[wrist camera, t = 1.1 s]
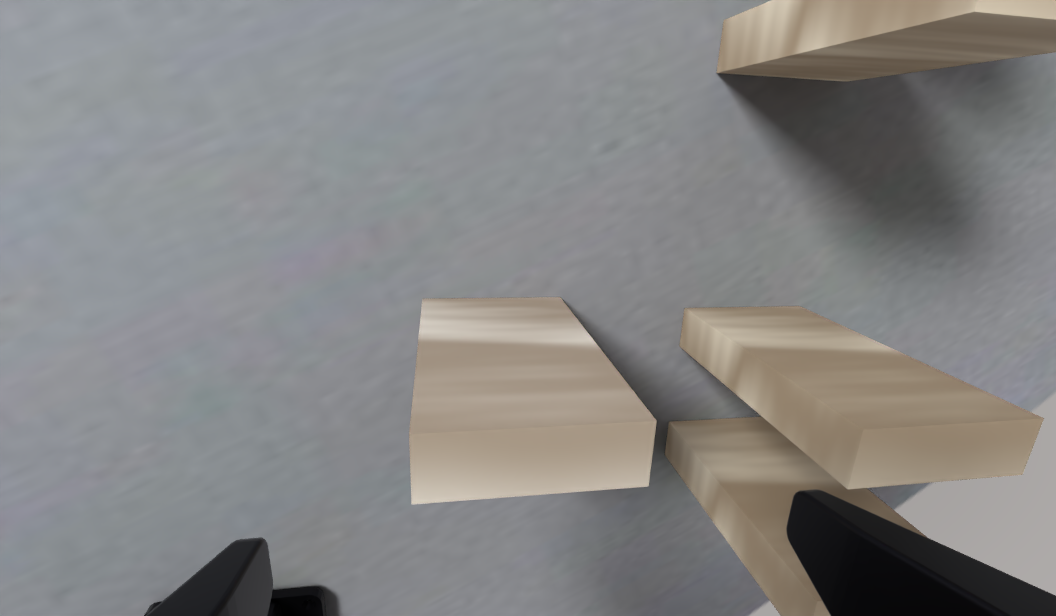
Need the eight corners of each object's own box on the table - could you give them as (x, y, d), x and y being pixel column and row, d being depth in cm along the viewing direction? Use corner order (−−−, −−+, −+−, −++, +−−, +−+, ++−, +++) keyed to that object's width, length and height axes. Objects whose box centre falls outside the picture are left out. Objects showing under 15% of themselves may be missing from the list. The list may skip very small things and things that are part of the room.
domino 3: (792, 342, 21) (1022, 474, 13) (679, 346, 21) (847, 489, 12) (799, 306, 21) (1044, 418, 13) (684, 308, 20) (863, 429, 12)
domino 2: (846, 81, 18) (1191, 32, 10) (716, 73, 18) (974, 11, 9) (856, 31, 18) (1229, -65, 10) (723, 20, 17) (1003, -97, 9)
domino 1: (557, 337, 20) (648, 486, 11) (423, 340, 19) (412, 504, 10) (560, 297, 19) (657, 420, 11) (422, 298, 18) (409, 433, 10)
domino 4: (770, 447, 23) (963, 626, 15) (664, 454, 22) (804, 648, 14) (777, 415, 22) (980, 581, 14) (669, 421, 22) (817, 601, 13)
